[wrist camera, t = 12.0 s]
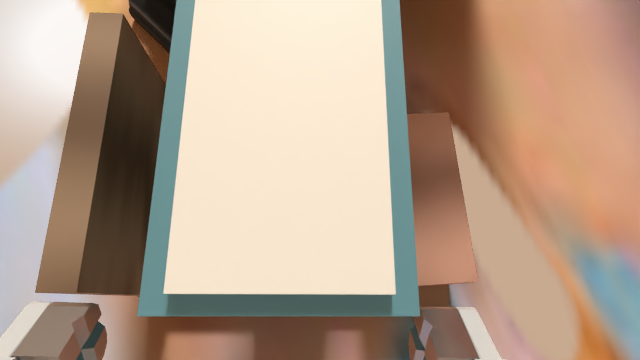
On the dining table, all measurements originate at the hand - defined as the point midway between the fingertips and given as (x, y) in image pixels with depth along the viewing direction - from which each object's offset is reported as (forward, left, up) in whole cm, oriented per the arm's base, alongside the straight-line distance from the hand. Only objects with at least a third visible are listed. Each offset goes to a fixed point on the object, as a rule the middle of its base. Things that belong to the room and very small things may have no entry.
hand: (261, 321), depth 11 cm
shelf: (+4, -4, -12) cm, 13 cm away
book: (+5, -4, -11) cm, 12 cm away
